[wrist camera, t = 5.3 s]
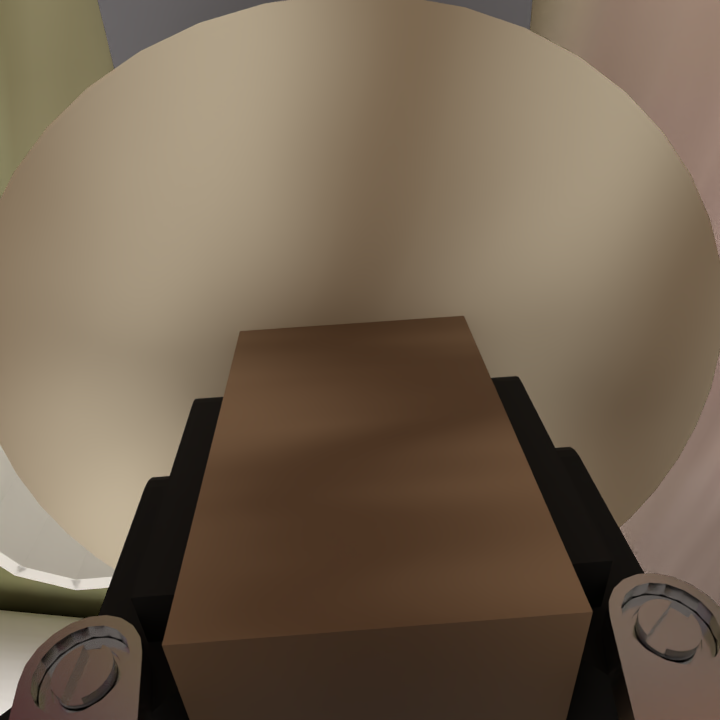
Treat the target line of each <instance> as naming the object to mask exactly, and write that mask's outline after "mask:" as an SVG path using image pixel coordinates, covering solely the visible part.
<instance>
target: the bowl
mask: <svg viewBox="0 0 720 720" xmlns="http://www.w3.org/2000/svg"><path fill="white" fill-rule="evenodd" d="M0 566H1V567H3V568H4V569H6V570H7V571H9V572H10V573H12V574H13V575H15V576H19V577H23V578H28V579H32V580H36V581H40V582H44V583H48V584H53V585H57V586H61V587H65V588H69V589H73V590H85V589H97V588H109V585H110V582H111V579H112V576H113V574H114V571H115V569H113V568H112V567H110V566H109V565H107V564H106V563H104V562H103V561H101V560H100V559H98V558H97V557H95V556H94V555H93V554H92V553H91V552H89V551H88V550H87V549H86V548H84V547H83V546H82V545H81V544H80V543H78V542H77V541H76V540H75V539H73V538H72V537H71V536H70V535H69V534H67V533H66V532H65V530H64V529H63V528H62V527H61V526H60V525H59V524H58V523H57V522H56V521H55V520H54V519H53V518H52V517H51V516H50V515H49V514H48V513H47V512H46V511H45V510H44V509H43V508H42V507H41V506H40V504H39V503H38V502H37V500H36V499H35V498H34V496H33V495H32V494H31V492H30V491H29V490H28V488H27V487H26V486H25V484H24V483H23V482H22V480H21V479H20V478H19V476H18V475H17V473H16V472H15V470H14V468H13V466H12V465H11V463H10V461H9V459H8V457H7V456H6V454H5V452H4V450H3V449H2V447H1V445H0Z"/></svg>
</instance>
